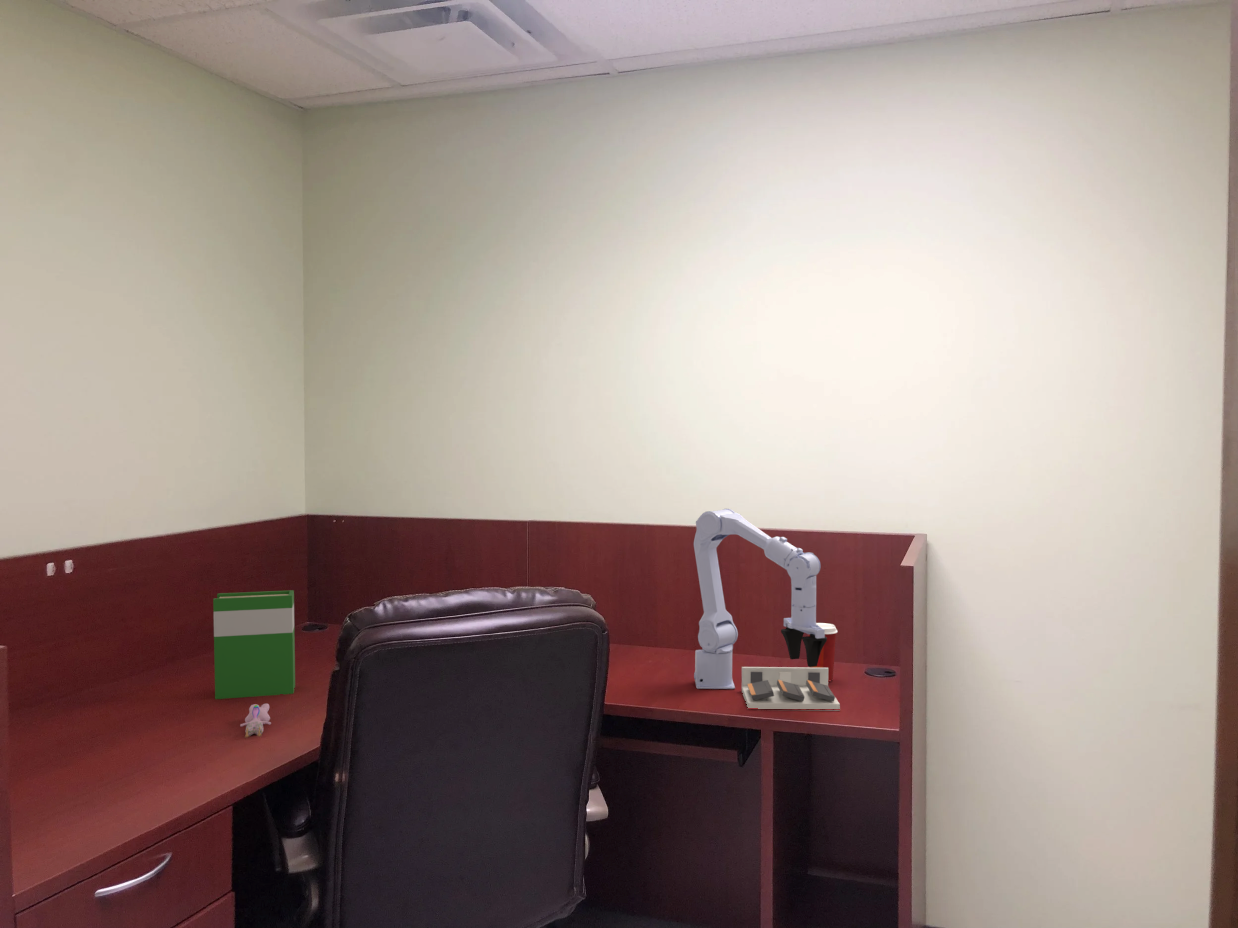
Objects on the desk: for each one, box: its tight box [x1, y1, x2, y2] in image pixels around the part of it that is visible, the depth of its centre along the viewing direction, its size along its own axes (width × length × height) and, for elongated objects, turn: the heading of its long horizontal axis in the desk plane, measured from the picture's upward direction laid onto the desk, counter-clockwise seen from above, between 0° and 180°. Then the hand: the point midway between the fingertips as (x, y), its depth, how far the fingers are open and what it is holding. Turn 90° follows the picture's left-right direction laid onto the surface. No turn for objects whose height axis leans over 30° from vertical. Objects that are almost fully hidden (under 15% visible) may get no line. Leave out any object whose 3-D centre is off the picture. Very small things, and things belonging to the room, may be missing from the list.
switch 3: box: [806, 680, 836, 701], centre depth 228 cm, size 5×10×1 cm, turn 179°
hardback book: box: [212, 589, 296, 700], centre depth 235 cm, size 18×7×24 cm, turn 105°
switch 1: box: [747, 680, 774, 700], centre depth 228 cm, size 5×10×1 cm, turn 178°
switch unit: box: [741, 666, 841, 710], centre depth 229 cm, size 21×15×6 cm
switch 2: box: [776, 680, 804, 701], centre depth 228 cm, size 5×10×1 cm, turn 179°
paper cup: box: [807, 622, 838, 681], centre depth 247 cm, size 8×8×14 cm
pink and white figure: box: [239, 703, 272, 738], centre depth 209 cm, size 6×6×15 cm
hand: (803, 662), depth 227 cm, fingers open, 7 cm apart
